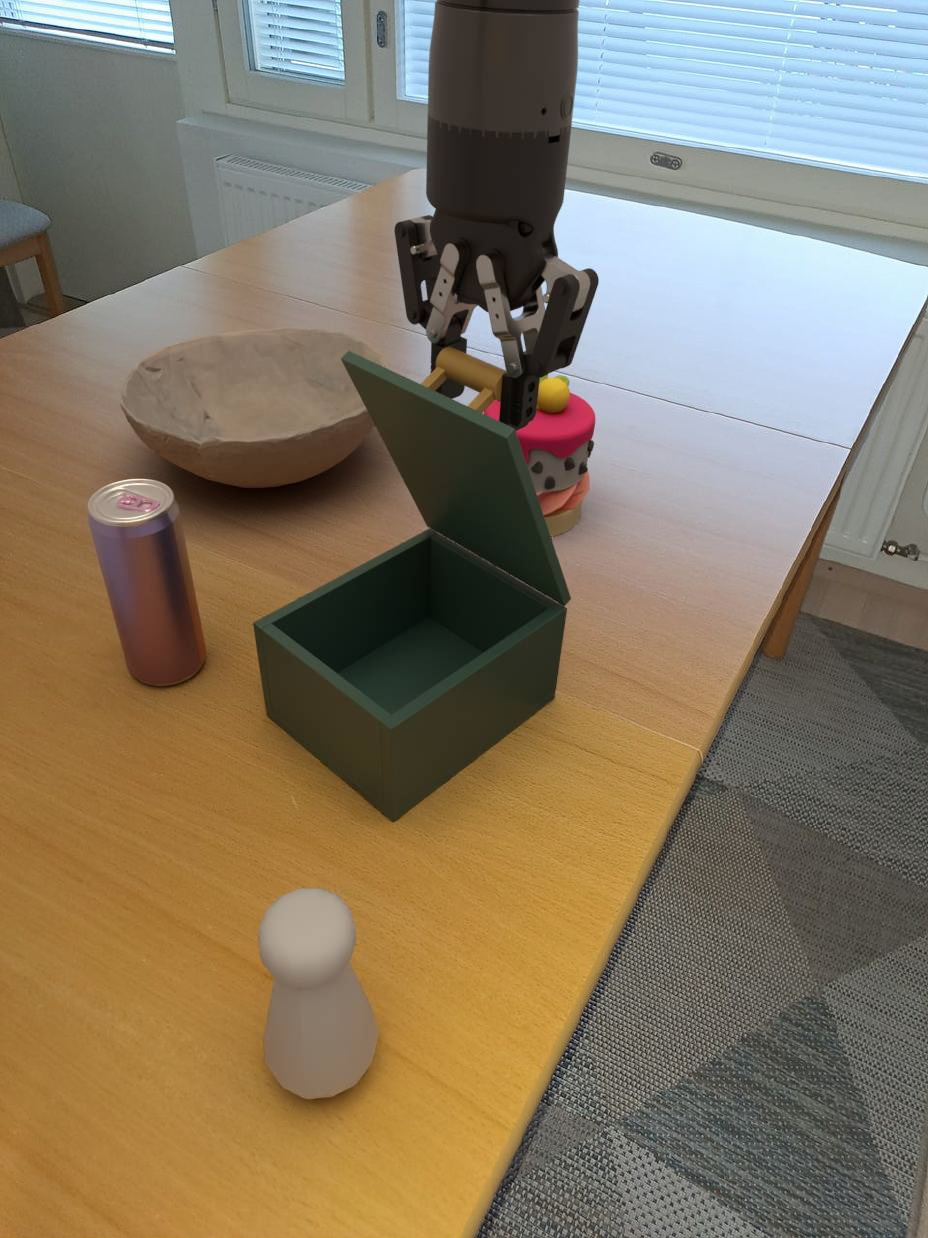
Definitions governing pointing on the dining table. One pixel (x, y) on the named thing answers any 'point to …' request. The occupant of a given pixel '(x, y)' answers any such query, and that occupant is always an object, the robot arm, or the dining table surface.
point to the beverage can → (148, 579)
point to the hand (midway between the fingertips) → (481, 410)
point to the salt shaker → (314, 995)
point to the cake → (557, 451)
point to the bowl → (251, 404)
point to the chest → (409, 667)
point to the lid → (463, 464)
